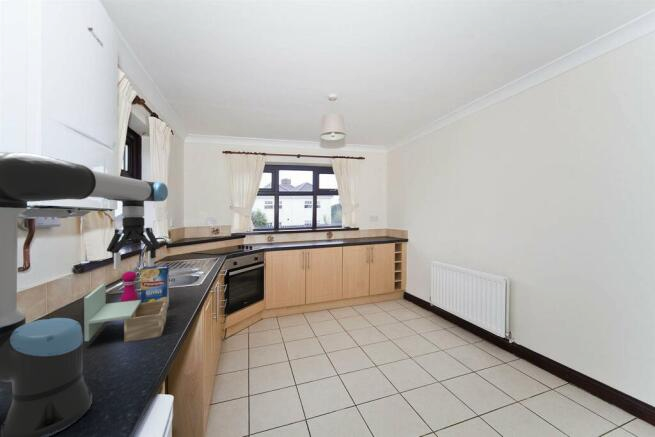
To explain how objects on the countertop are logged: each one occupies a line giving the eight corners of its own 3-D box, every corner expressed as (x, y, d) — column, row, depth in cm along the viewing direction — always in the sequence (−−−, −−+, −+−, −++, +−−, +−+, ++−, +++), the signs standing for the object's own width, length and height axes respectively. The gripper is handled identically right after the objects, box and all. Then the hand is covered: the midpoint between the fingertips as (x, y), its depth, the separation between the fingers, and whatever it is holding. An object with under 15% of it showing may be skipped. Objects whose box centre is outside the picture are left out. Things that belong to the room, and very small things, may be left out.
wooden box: (161, 336, 105) (161, 314, 105) (124, 342, 100) (124, 319, 99) (166, 319, 121) (166, 300, 121) (135, 323, 116) (134, 303, 115)
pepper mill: (123, 305, 137) (123, 267, 136) (139, 303, 139) (139, 266, 139) (118, 310, 130) (117, 270, 129) (135, 308, 133) (135, 269, 132)
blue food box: (167, 311, 130) (167, 267, 130) (140, 314, 126) (140, 269, 125) (169, 306, 137) (168, 265, 136) (143, 309, 132) (143, 266, 131)
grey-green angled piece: (130, 334, 100) (130, 293, 100) (84, 341, 94) (84, 297, 94) (141, 315, 117) (141, 280, 116) (102, 321, 111) (102, 284, 110)
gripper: (168, 216, 115) (169, 264, 114) (109, 219, 113) (110, 268, 112) (158, 215, 108) (159, 266, 106) (95, 218, 106) (95, 270, 105)
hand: (134, 267), depth 109 cm, fingers open, 13 cm apart
